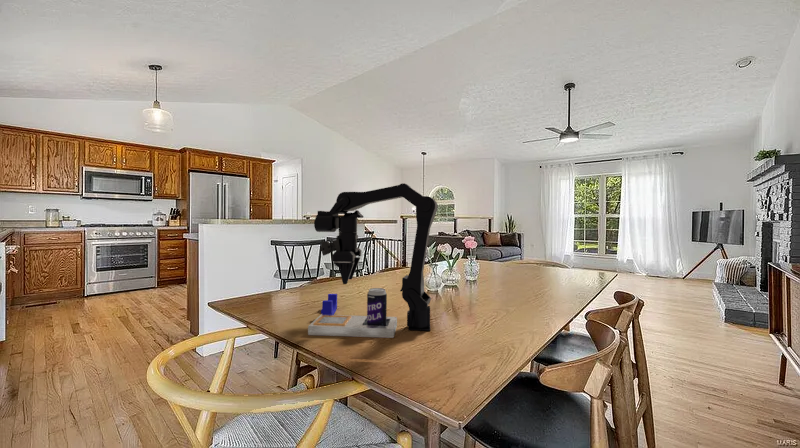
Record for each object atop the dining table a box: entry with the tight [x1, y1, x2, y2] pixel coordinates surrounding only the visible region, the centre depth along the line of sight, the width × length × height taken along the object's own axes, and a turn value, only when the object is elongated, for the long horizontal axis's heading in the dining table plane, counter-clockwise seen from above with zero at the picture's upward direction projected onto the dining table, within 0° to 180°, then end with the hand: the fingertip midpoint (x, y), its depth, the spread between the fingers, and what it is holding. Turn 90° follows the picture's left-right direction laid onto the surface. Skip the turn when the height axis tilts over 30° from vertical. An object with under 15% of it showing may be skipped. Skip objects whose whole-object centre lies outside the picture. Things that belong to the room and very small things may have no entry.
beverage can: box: [366, 287, 388, 326], centre depth 101 cm, size 6×6×12 cm
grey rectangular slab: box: [307, 314, 398, 339], centre depth 102 cm, size 24×12×3 cm, turn 86°
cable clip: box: [320, 293, 338, 315], centre depth 119 cm, size 12×4×6 cm, turn 2°
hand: (347, 281), depth 110 cm, fingers open, 9 cm apart
